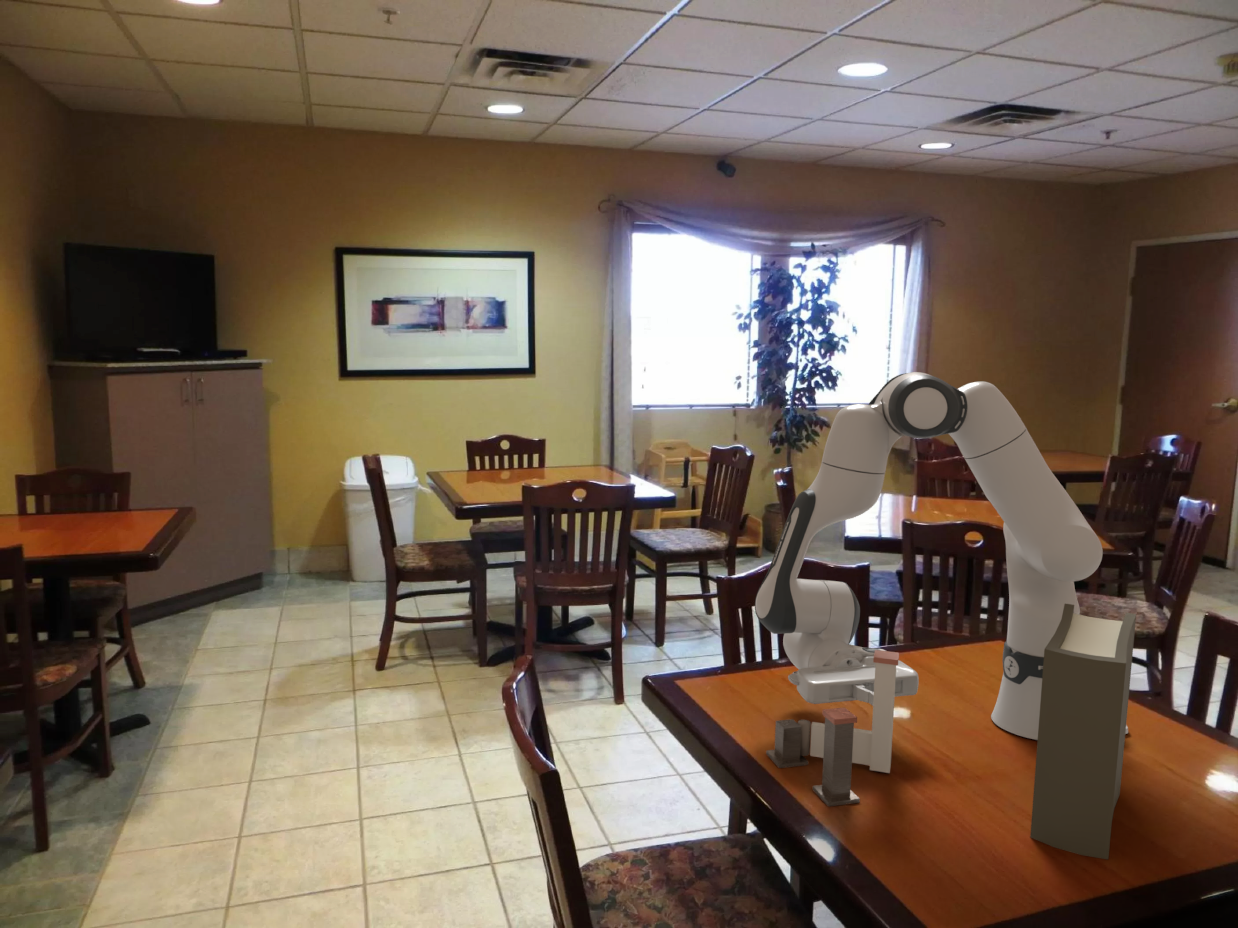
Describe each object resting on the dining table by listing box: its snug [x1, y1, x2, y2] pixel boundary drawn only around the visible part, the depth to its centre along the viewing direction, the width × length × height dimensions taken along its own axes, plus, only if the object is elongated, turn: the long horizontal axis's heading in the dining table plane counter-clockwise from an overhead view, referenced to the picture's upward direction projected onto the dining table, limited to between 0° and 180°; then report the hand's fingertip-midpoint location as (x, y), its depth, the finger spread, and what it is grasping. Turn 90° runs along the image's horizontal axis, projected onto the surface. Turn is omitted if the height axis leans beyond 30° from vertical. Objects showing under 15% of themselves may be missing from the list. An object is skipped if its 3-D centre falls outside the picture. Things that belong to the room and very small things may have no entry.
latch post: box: [812, 707, 861, 807], centre depth 130 cm, size 5×5×13 cm
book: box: [1029, 604, 1137, 860], centre depth 124 cm, size 22×9×28 cm, turn 147°
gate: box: [797, 650, 900, 774], centre depth 139 cm, size 15×4×18 cm, turn 70°
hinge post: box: [765, 718, 809, 769], centre depth 142 cm, size 5×5×6 cm
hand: (881, 700), depth 140 cm, fingers closed
